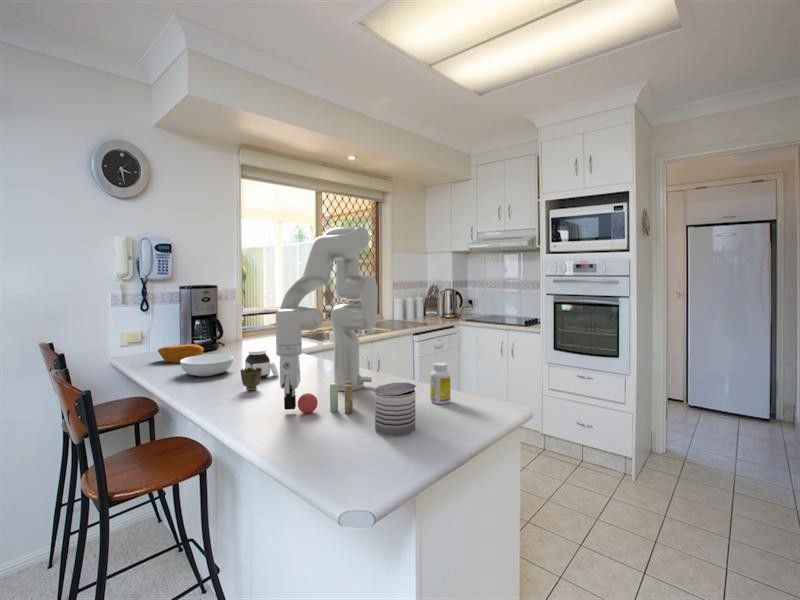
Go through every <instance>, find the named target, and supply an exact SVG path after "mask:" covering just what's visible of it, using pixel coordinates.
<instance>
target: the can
mask: <svg viewBox="0 0 800 600" xmlns="http://www.w3.org/2000/svg"><path fill="white" fill-rule="evenodd" d="M416 387H417V384H413V383H410V382H391V383H386V384H382V385H378V386H377V387H376V388H375V389H374V390H373V392H374V430H375V433H376V434H377V435H380V436H383V437H387V438H401V437H407V436H411V435H412V434H413V433H415V432H416V390H415V389H416Z"/></svg>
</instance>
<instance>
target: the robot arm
mask: <svg viewBox="0 0 800 600" xmlns="http://www.w3.org/2000/svg"><path fill="white" fill-rule="evenodd" d="M369 242H370V234H369V231H368V229H366V228H365V227H363V226H344V227H343V226H342V227H332V228H329V229H327V230H326V231H325V233H324V235H321V236H318V237H316V238H315V239H314V240H313V242H312V245H311V248H310V251H309V255H308V258H307V262H306V264H305V268H304V271H303V274H302V275H301V276H300V277H299V278H298V279H297V280H296V281H295V282H294V283H293V284H292V285H291V286H290V287H289V289H288V290H287V292H286V293H285V295H284V297H283V299H282V302H281V305H280V309H278V310H277V311H276V313H275V347H276V349H275V353H276V356H277V357H279V383H280V388H281V389H282V390H283V392H284V396H283V397H284V398H283V403H284V404H283V405H284V406H283V407H284V410H286V411H287V410H295V409H296V407H297V402H296V401H297V399H296V397H297V395H296V389H298V387H299V385H300V383H301V367H300V366H301V365H300V363H301V362H300V356H301V355H302V353H303V350H302V349H303V348H302V342H303V341H302V331H304V332H305V331H311V332H312V331H315V330H318V329H319V328H320V327H321V326H322V325H323V322H324V315H323V313H322V312H321V310H320V309H318V308H316V307H313V306H299V305H300V304H301V302H302V301H303V299H304V298H306V296H307V295H309V294H311V293H312V292H315V291H317V290H319V289H320V288H322V287H324V286H326V285H327V284H328V282H329V280H330V276H331V272H332V269H333V265H334V262H335V263H336V278H335V279H336V280H335V282H336V283H335V293H336V296H337V298H338V299H340V300H342V301H353V302H354V301H355V302H356V301H357V302H360V304H356V303H353V304H352V303H342V304H338V305H335V306H334V307H333V308H332V309H331V312H330V313H331V314H330V320H331V326H332V330H333V363H334V364H333V367H334V368H333V369H334V370H333V371H334V372H333V374H334V375H333V377H334V379H333V382H332V383H337V384H338V392H345V381H352V389H353V391H358V390H361V389H362V388H364V386H365V385H364V383H372V380H373V378H372V376H368V375H367V376H362V375H361V373H360V339H359V336H358V334H357V332H356V331H371V330H372V329H374V328H375V326H376V323H377V320H378V299H379V298H378V296H379V295H378V294H379V293H378V292H379V291H378V290H379V289H378V288H379V287H378V283H377V281H376V278H374V277H373V276H372V275H366V274H365V275H364V274H360V262H359V261H360V260H359V258H358V257H357V255H359V254H360V253H361V252H363V251H365V250H366V249H367V247H368V245H369Z"/></svg>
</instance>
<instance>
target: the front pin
mask: <svg viewBox="0 0 800 600" xmlns="http://www.w3.org/2000/svg"><path fill="white" fill-rule="evenodd" d="M329 403H330V404H329V406H330V407H329V410H330V413H338V412H339V391H338V384H337V383H333V382H331V383H330V384H329Z"/></svg>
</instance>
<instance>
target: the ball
mask: <svg viewBox="0 0 800 600" xmlns="http://www.w3.org/2000/svg"><path fill="white" fill-rule="evenodd" d="M318 404H319V403H318V398H317V397H316V396H315V395H314V394H312V393H308V392H307V393H303V394H302V395H301V396H300V397H299V398H298V400H297V407H298V410H299V411H300V412H301V413H303V414H312V413H313V412H314V411H315V410H316V409H317V407H318Z"/></svg>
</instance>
